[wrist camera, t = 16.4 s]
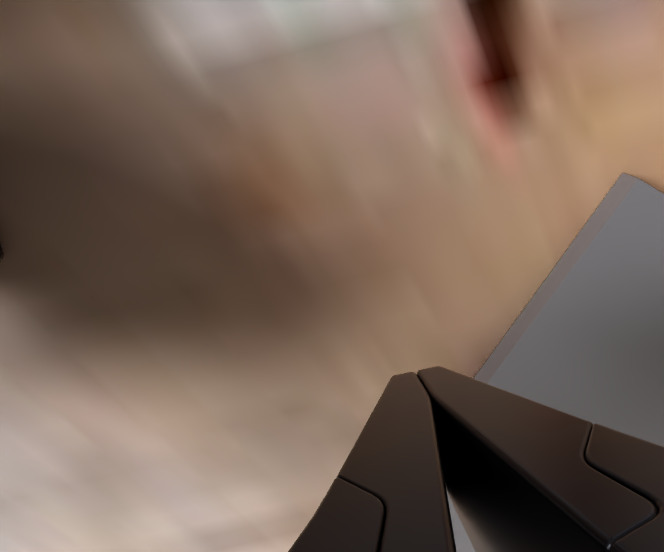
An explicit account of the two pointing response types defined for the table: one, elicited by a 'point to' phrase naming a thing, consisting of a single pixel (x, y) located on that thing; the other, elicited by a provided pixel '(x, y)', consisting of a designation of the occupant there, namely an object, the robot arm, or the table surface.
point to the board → (595, 326)
